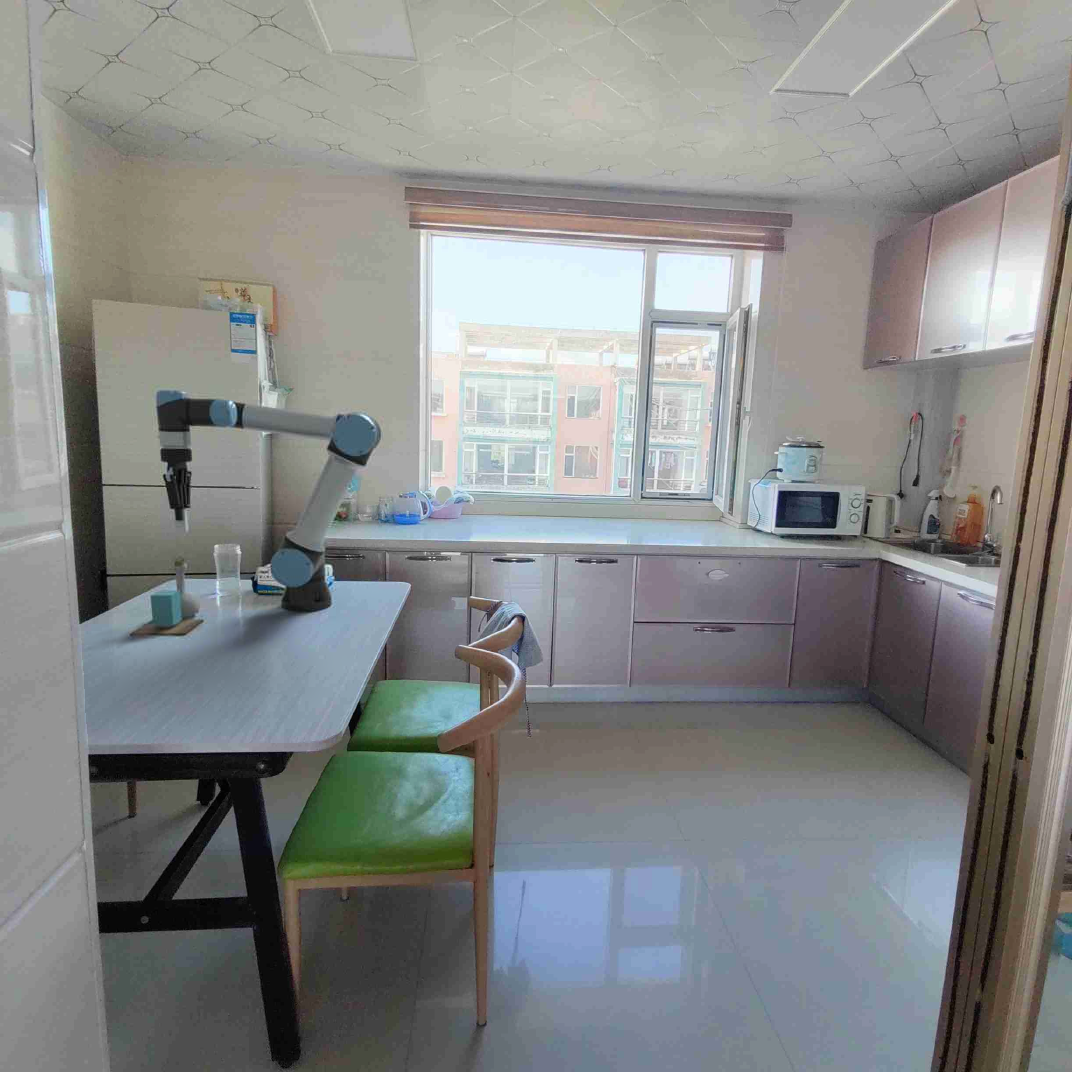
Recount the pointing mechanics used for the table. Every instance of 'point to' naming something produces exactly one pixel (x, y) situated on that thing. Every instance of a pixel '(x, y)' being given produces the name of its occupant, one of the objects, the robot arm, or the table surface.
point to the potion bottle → (186, 598)
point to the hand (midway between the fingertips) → (182, 531)
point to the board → (178, 629)
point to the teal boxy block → (166, 607)
